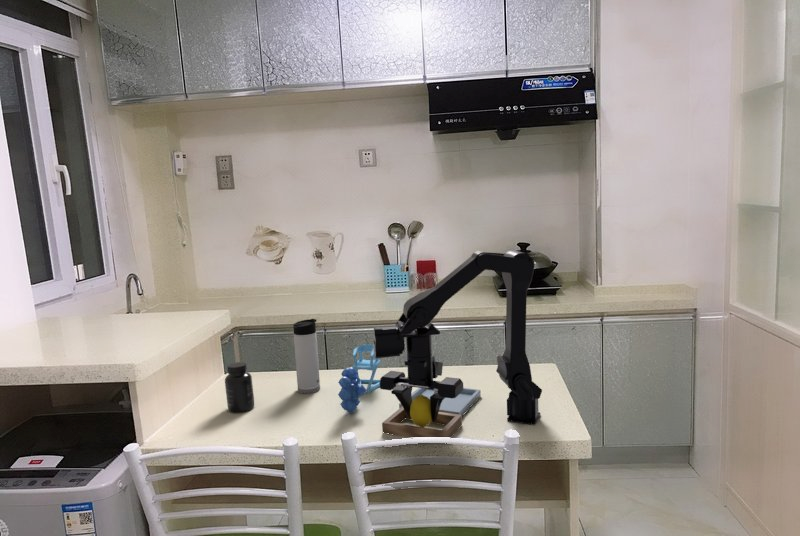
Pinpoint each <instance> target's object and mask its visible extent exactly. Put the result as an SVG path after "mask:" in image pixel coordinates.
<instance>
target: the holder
mask: <svg viewBox="0 0 800 536" xmlns="http://www.w3.org/2000/svg"><path fill="white" fill-rule="evenodd" d="M405 418H406V420H410V418H409V417H408V415H407V413H406V412H405V410H404V408H403V406H402V407H401V408H400V409H399V408H398V409H397V410H396V411H395V412H393V413H392V414H391V415H390V416H389V417H387V418H386V419H385V420H384V421H382V423H381V427H382V428H381V429H382V433H383V432H384V433H389V434H393V435H392V436H395V437H403V438H407V437H451V438H452V437H453V436H454V435H455V434H456V433H457V432H458V431H459V429H460V428H461V427H462V426H463V425H462V424H463V416H462V415H458V414H451V413H444V412H438V415H437V418H436V421H435V422H433V421H432V422H431V423H430V424H437V425H442V424H444V425H443V426H444V427H443V428H442V429H436V428H430V427H427V426H425V427H420V426H417V425H412V424H407V423H406V424H405V423H402V422H403V421H404V420H405ZM402 420H403V421H402ZM401 421H402V422H401ZM400 422H401V423H400ZM461 425H462V426H461ZM460 426H461V427H460ZM459 427H460V428H459ZM456 431H457V432H456ZM455 432H456V433H455ZM384 433H383V434H384ZM454 433H455V434H454ZM389 434H388V435H389ZM453 434H454V435H453Z"/></svg>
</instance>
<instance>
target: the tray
mask: <svg viewBox="0 0 800 536" xmlns="http://www.w3.org/2000/svg"><path fill="white" fill-rule="evenodd" d="M433 394H434V389H426V388H418V387H417V389H416V390H414V391H413V392H411V397H412V401H413V400H414V399H415V398H416V397H418V396H420V395H423V396H426V397H428V398H429V399H430V397H431V396H432V395H433ZM481 395H482V393H481V389H477V388H469V387H463V391H462V392H461V393H460V394H459V395H458V396H457V397H456V398H445V399H444V400H443V401H442V403H441V406H440V409H439V412H444V413H451V414H458V415H463V414H464V413H465V412H466V411H467V410H468V409H469V408H470V409H471V407H472V406H473V405H474V404H475V403H476V402H477V401H478V400H479V399H480V398H481V397H480V396H481ZM479 397H480V398H479ZM478 398H479V399H478ZM477 399H478V400H477ZM476 400H477V401H476ZM475 401H476V402H475ZM474 402H475V403H474ZM473 403H474V404H473ZM472 404H473V405H472ZM471 405H472V406H471ZM470 406H471V407H470ZM401 407H402V405H401V403H400V402H399V403H398V409H400V408H401ZM470 409H469V410H470ZM469 410H468V411H469ZM468 411H467V412H468ZM467 412H466V413H467ZM466 413H465V414H466ZM465 414H464V415H465ZM464 415H463V416H464Z"/></svg>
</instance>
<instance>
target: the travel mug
mask: <svg viewBox="0 0 800 536" xmlns="http://www.w3.org/2000/svg"><path fill="white" fill-rule="evenodd" d="M316 323H317V319H316V318H310V319H309V318H308V319H304V320H303V319H302V320H299V321H297V322H295V323H293V324H292V325H293V343H294V357H295V370H296V371H295V372H296V383H297V391H298V392H299V393H301V394H313V393H316V392H318V391H319V390H320V389H321V380H320V369H319V367H320V365H319V354H318V353H319V350H318V339H317V329H316V328H317V326H316V325H317V324H316Z"/></svg>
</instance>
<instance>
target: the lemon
mask: <svg viewBox="0 0 800 536" xmlns="http://www.w3.org/2000/svg"><path fill="white" fill-rule="evenodd" d="M410 416H411V419H412V420H411V421H412V423H413V424H414V425H415V426H419V427H427V426H429V425H431V424H432V423H431V422H432V417H431V404H430V399H429V398H428V397H426V396H423V395H420V396H418V397H416V398H415V399H414V400H413V401H412V403H411V406H410Z"/></svg>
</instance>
